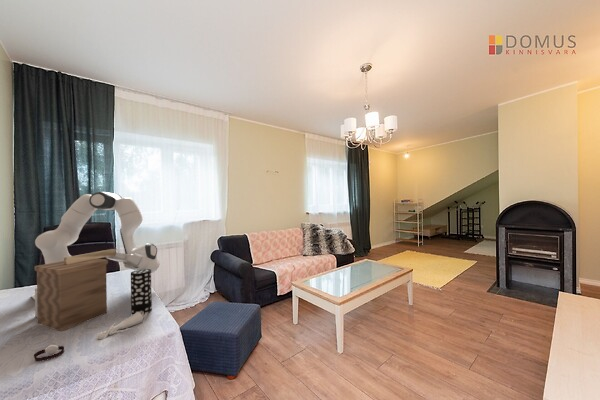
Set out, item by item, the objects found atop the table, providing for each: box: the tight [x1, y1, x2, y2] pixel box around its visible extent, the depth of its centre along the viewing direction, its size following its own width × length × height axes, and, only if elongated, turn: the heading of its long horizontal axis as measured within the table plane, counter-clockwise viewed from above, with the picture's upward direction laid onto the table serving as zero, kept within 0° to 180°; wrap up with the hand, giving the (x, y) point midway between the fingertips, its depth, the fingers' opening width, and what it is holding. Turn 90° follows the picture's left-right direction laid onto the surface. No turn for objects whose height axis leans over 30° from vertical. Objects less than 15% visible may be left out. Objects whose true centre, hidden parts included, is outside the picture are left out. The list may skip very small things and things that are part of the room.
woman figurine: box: [96, 312, 148, 340], centre depth 99 cm, size 12×4×18 cm
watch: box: [33, 344, 65, 362], centre depth 82 cm, size 8×5×4 cm, turn 114°
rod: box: [64, 248, 117, 265], centre depth 116 cm, size 3×20×3 cm, turn 159°
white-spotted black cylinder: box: [130, 269, 153, 316], centre depth 114 cm, size 8×8×20 cm
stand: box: [34, 258, 109, 332], centre depth 109 cm, size 20×18×26 cm
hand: (109, 253), depth 124 cm, fingers open, 8 cm apart
